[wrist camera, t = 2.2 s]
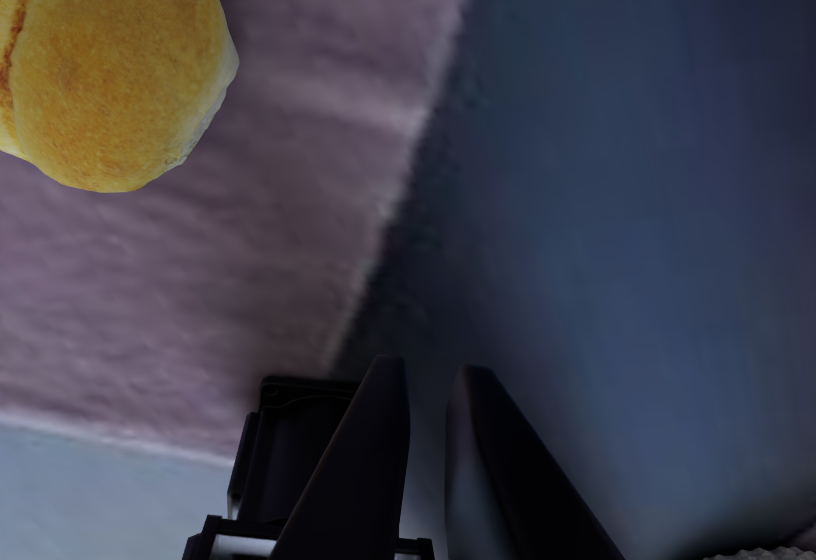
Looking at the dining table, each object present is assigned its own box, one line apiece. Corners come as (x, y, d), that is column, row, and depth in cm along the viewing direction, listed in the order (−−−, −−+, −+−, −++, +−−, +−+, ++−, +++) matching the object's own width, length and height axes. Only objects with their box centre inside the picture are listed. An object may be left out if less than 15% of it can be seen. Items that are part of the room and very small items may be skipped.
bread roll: (-78, -267, 13) (-231, -293, 10) (282, -1, 16) (254, 43, 13) (-135, 44, 17) (-256, 97, 14) (163, 205, 20) (120, 276, 17)
